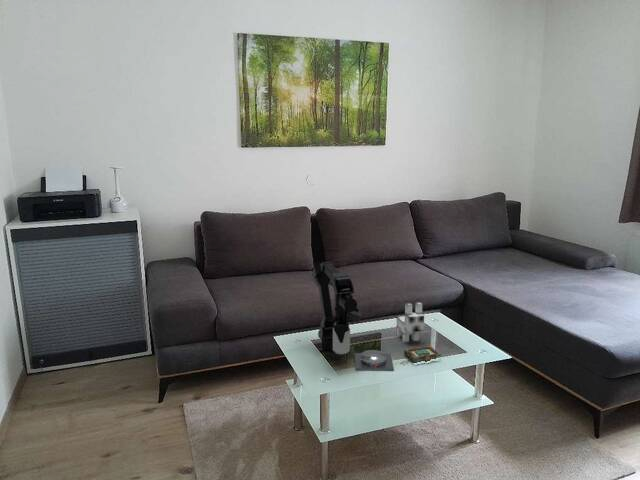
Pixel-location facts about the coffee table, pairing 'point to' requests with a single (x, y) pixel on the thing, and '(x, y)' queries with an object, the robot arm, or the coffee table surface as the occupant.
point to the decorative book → (421, 354)
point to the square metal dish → (373, 361)
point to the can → (341, 347)
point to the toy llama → (410, 323)
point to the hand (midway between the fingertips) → (341, 339)
